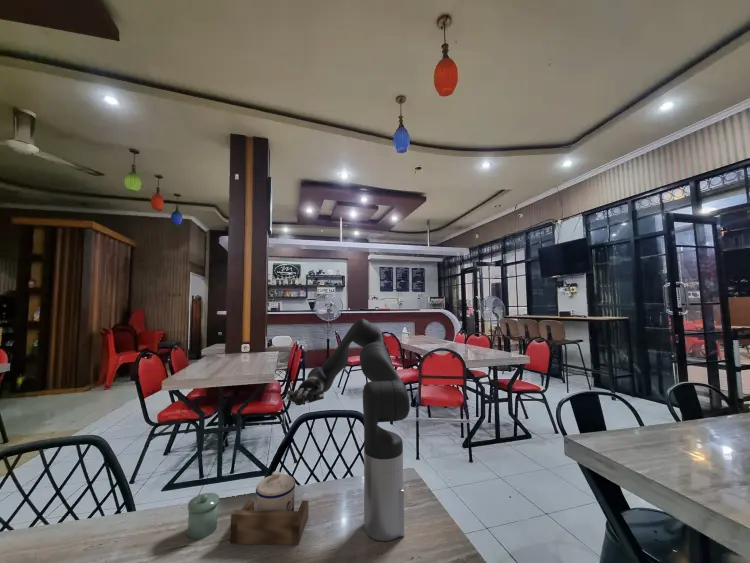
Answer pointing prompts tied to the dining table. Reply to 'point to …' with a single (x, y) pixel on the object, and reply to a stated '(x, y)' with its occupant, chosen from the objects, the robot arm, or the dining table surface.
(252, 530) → the walnut cup holder
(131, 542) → the dining table surface
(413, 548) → the dining table surface
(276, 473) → the teacup with lid
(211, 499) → the green ceramic sugar pot
